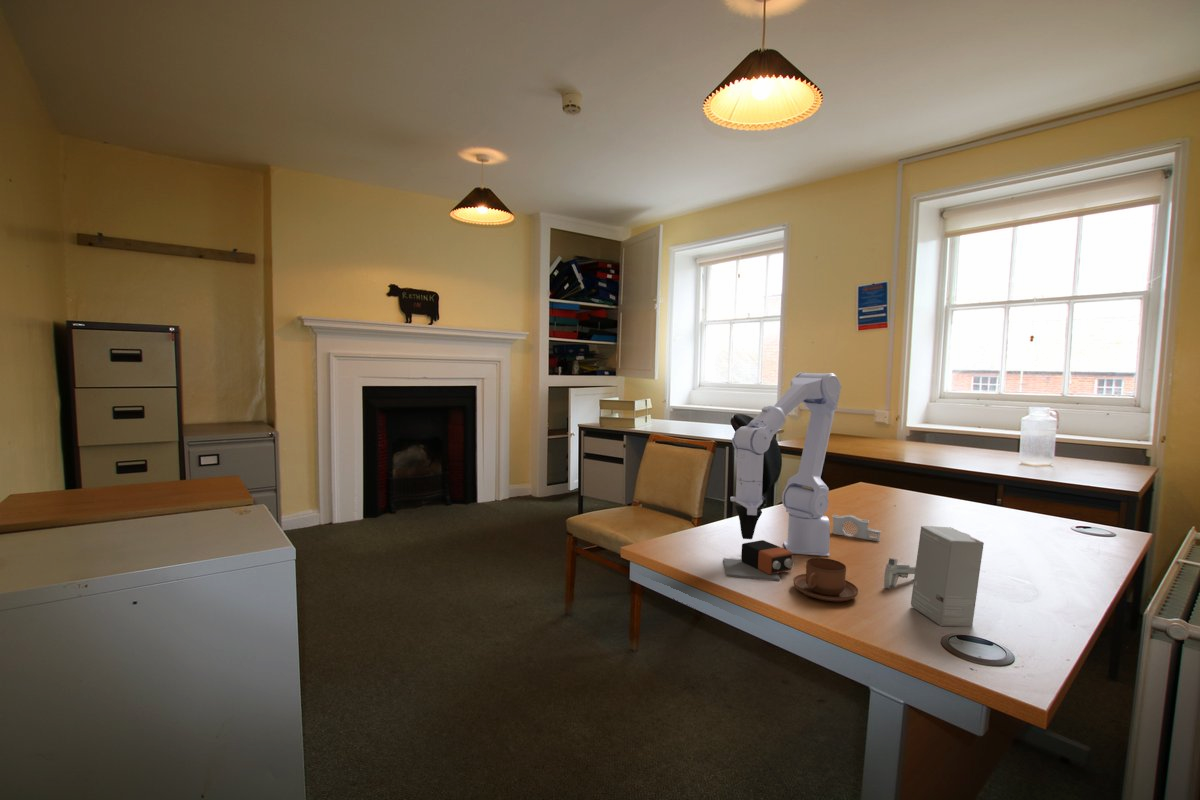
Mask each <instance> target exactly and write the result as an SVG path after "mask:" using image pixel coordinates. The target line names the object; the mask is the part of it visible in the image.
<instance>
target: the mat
mask: <svg viewBox="0 0 1200 800" xmlns="http://www.w3.org/2000/svg"><path fill="white" fill-rule="evenodd" d="M723 563H724V564H723V565H724V570H725V575H726V577H728V578H729V577H730V578H738V579H740V578H742V579H752V580H753V579H754V580H755V579H756V580H762V581H763V580H766V581H767V580H768V581H778V582H780V581H781V578H780V575H779V573H776V574H771V575H769V574H767V573H765V572H763V571H761V570H759V569H756V568H754V567H752V566H750V565H748V564H746V563H744V562H742V561H741V558H740V559H738V558H726V557H724V558H723Z"/></svg>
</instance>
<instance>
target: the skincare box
mask: <svg viewBox="0 0 1200 800" xmlns="http://www.w3.org/2000/svg"><path fill="white" fill-rule="evenodd" d="M984 545H985V543H984V542H983V541H982V540H979V539H977V538H975V537H973V536H971V534H969V533H965V532H962V531H959V530H958V529H955V528H954V527H951V526H949V527H948V526H933V525H921V526H920V533H919V541H918V546H917V555H916V561H915V562H916V563H915V566H916V569H915V574H914V576H913V583H912V584H913V585H912V591H911V592H912V594H911V599H910V605H911V607H912V608H913V609H914V610H917V611H918V612H920V613H921V614H922V615H924V616H926V617H927V618H928V619H930V620H931V621H933V622H934V623H936V624H938V625H939V626H940V627H941V626H942V627H949V626H950V627H954V626H956V627H970V626H971V627H972V626H973V623H974V617H975V616H974V615H975V609H976V603H977V596H978V595H977V594H978V588H979V582H980V581H979V580H980V579H979V578H980V571H981V566H982V565H981V564H982V558H983V551H984Z"/></svg>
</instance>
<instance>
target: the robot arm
mask: <svg viewBox="0 0 1200 800" xmlns="http://www.w3.org/2000/svg"><path fill="white" fill-rule="evenodd" d="M789 385H790V386H789V388H788V389H787V390H786V391H785V392H784V393H783V395H782V396H781V397H780V398H779V399H778V401H777V402H776V403H775V404H774V405H767V406H764V407H762V408H761V411H760V412H759V413H758V414H756V416H755V417H754V418H753V419H752V420H751V421H750V422H749V423H748V424H747V425H744V426H743V425H742V426H740V427H739V428H738V429H736V430H735V432H734V433H733V437H732V438H731V443H732V446H733V448H734V451H735V453H734V456H735V457H736V458H737V459H736V483H735V485H736V486H735V487H736V488H735V496H730V502H735V503H737V505H735V506H734V508H735V510H736V513H737V516H738V520H739V527H740V532H741V538H742V539H743V540H753V537H754V536H755V530H756V527H757V523H758V522H759V519H760V517H761V515H762V513H763V511H762V508H761V506H762V504H763V481H764V480H763V476H764V475H763V474H764V456H765V455H764V454H765V452H767V451H768V450H769V448H770V445H771V441H772V440H773V438H774V436H775V435H776V433H778V432H779V430H781V428H782V427H784V425H785V424H786V421H787V419H786V416H788V414H790V413H791V412H792V411H793V410H795V408H797V407H798V406H799V405H800V404H801V403H802V404H803V405H804V407H806V408H807V409H808V410H809V411H810V416H809V421H808V425H807V430H806V435H805V439H804V444H803V448H802V454H801V457H800V462H799V466H798V470H797V471H798V472H797V473H796V474H794V475H792V476H791V477H790V478H788V480H787V483H786V485H785V488H784V490H783V492H782V494H781V502H782V505H783V506H784V508H785V510H786V511H785V512H786V513H788V521H787V522H788V523H787V524H788V525H787V541H783V542H782V543H783V545H784V547H785V549H786V550H789V551H791V552H792V555H793V554H795V555H807V556H808V555H810V556H821V557H822V556H825V557H830V555H831V554H830V542H831V541H830V539H831V538H830V537H831V535H830V534H831V526H830V525H831V524H830V519H829V517H828V516H827V515H824V514H826V513H827V511H828V508H829V491H830V488H829V486H827V484H826V483H825V482H824V481H823V479H822V478H821V476H822V473H823V467H824V464H825V458H826V455H827V454H826V453H827V450H828V445H829V440H830V434H831V430H832V425H833V422H834V421H833V420H834V417H835V412H836V410H837V408H838V405H839V400H840V396H841V390H842V385H841V382H840V380H839V377H838V376H837V375H836V374H835V373H833V372H829V373H820V372H819V373H818V372H817V373H809V372H803V371H802V372H798V373H796V375H795V376H794V377H793V378H791V380H790V384H789ZM806 487H807V488H806ZM811 488H812V489H811ZM738 504H739V505H738Z"/></svg>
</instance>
